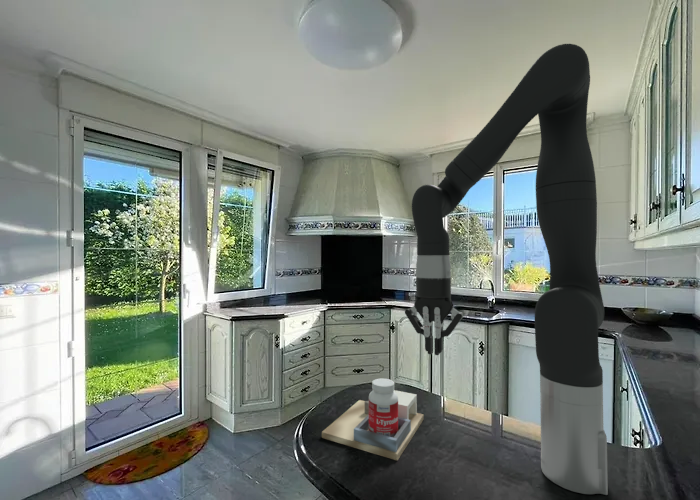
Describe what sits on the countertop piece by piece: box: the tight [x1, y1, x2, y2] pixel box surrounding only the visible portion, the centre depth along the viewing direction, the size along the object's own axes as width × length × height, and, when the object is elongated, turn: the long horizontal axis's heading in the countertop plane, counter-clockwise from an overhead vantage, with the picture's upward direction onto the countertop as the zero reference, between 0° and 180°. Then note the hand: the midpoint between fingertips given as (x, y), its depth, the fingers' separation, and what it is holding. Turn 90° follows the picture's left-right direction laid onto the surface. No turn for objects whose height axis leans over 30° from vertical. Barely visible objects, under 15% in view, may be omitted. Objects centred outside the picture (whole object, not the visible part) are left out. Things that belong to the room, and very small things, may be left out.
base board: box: [321, 399, 425, 461], centre depth 75 cm, size 17×18×4 cm
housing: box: [394, 389, 418, 420], centre depth 78 cm, size 7×7×4 cm
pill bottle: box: [368, 377, 398, 438], centre depth 70 cm, size 6×6×11 cm
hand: (433, 353), depth 74 cm, fingers closed
